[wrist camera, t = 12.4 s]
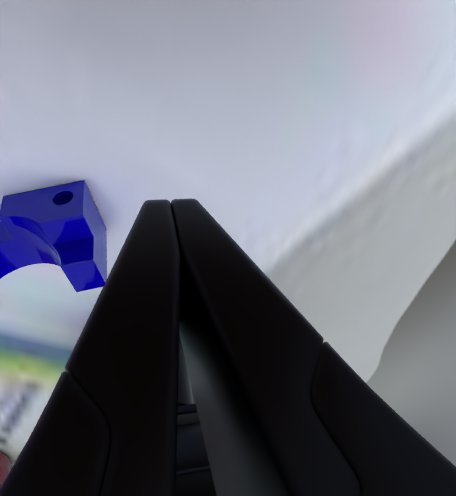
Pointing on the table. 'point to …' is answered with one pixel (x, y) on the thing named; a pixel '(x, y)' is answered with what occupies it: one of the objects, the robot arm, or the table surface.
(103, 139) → the table surface
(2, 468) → the kitchen canister
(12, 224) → the cable holder
